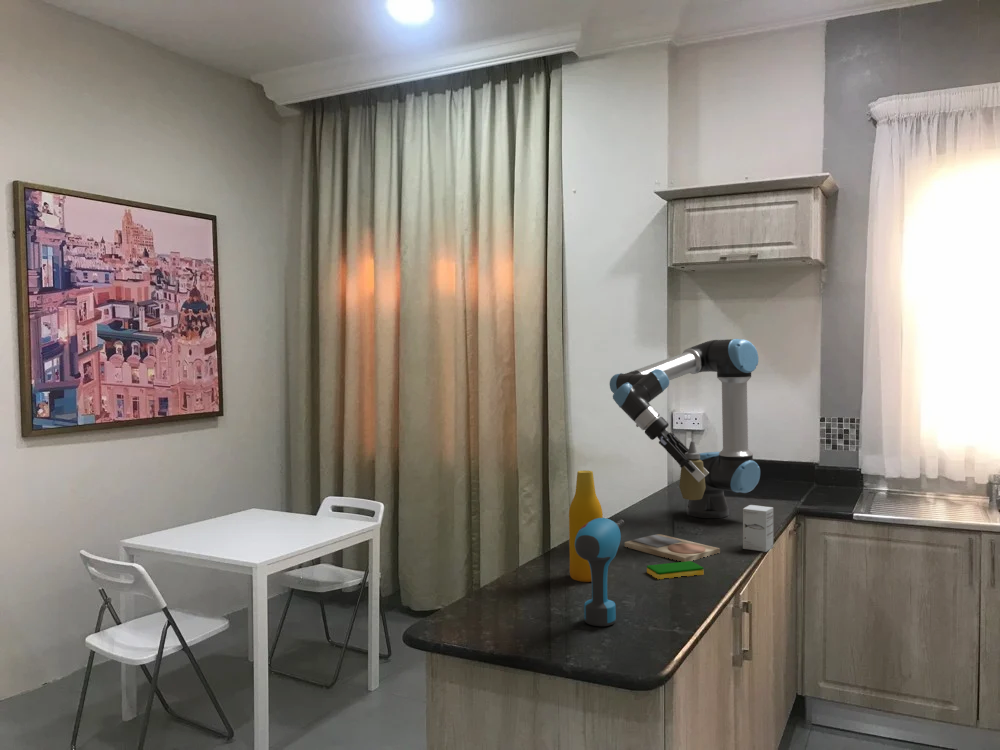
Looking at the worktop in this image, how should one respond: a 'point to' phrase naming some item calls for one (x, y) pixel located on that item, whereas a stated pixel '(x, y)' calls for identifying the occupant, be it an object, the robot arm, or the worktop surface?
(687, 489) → the squeeze bottle
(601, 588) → the power drill
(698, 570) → the dish sponge
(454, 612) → the worktop surface
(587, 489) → the beer bottle
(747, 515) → the supplement box
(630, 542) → the board
